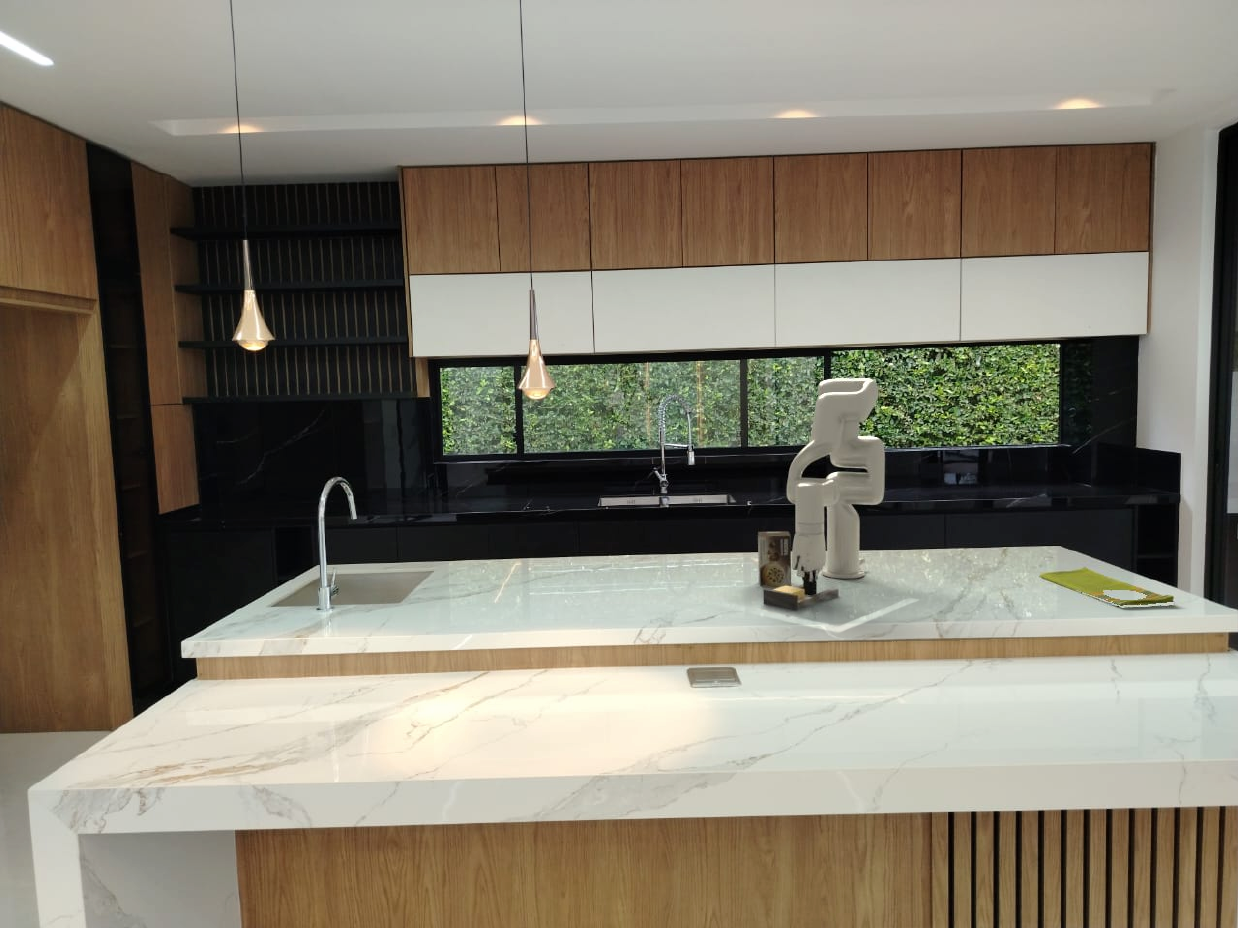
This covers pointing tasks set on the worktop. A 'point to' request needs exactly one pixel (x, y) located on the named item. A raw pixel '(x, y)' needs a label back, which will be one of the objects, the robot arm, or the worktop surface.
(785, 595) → the chute
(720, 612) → the worktop surface
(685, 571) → the worktop surface
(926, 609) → the worktop surface
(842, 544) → the robot arm
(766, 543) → the coffee box
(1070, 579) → the dish towel
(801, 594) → the block
